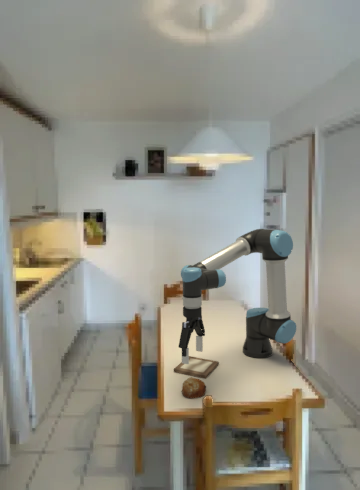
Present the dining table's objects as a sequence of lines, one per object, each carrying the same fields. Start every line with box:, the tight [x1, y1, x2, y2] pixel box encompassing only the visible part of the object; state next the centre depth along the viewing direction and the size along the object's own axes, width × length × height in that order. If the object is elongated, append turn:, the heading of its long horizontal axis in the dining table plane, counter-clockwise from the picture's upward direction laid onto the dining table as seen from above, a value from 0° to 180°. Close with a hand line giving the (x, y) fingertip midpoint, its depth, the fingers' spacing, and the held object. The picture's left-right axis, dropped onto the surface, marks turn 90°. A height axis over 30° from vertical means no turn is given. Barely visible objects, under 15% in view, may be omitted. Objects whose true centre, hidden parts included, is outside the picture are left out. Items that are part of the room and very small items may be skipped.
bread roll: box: [180, 376, 207, 399], centre depth 155 cm, size 10×10×8 cm
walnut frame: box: [173, 355, 220, 380], centre depth 177 cm, size 16×16×2 cm
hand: (192, 357), depth 153 cm, fingers open, 13 cm apart
